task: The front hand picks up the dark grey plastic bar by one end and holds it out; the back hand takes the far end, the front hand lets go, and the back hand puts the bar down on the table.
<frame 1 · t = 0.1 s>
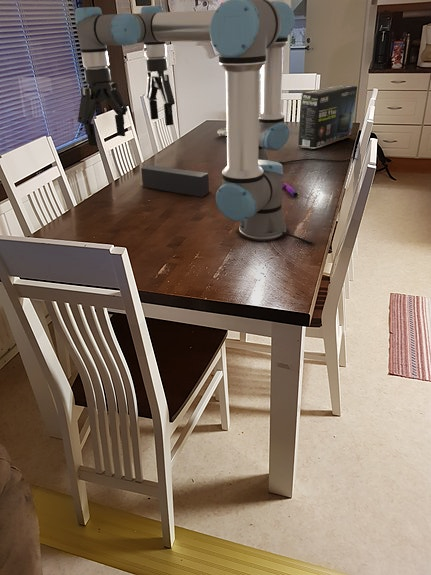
front hand: (107, 140, 148), 28 cm above the table, tool pointing down, fingers open, 13 cm apart
back hand: (161, 122, 170), 28 cm above the table, tool pointing down, fingers open, 13 cm apart
fossil: (232, 135, 267), on the table
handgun: (280, 189, 185), on the table
bar: (175, 189, 189), on the table
router box: (325, 143, 245), on the table
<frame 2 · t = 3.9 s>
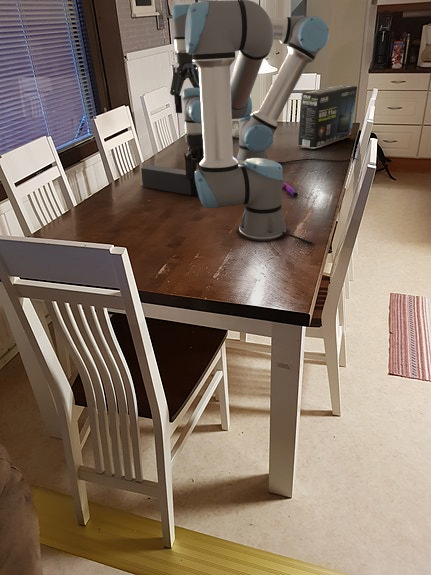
front hand: (198, 192, 183), 0 cm above the table, tool pointing down, fingers closed on bar, 5 cm apart
back hand: (188, 110, 187), 28 cm above the table, tool pointing down, fingers open, 13 cm apart
bar: (175, 189, 189), on the table, touching front hand
everything else where it was.
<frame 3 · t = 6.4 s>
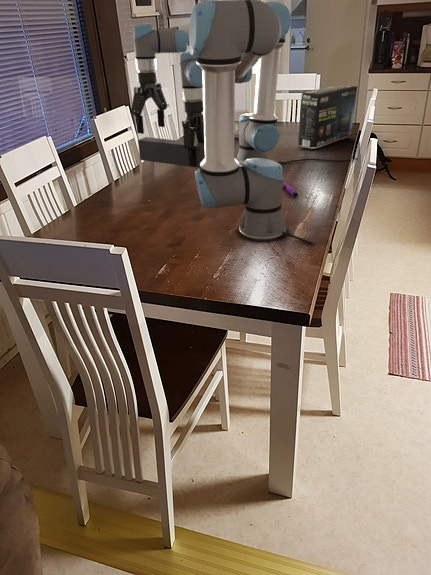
front hand: (197, 164, 177), 12 cm above the table, tool pointing down, fingers closed on bar, 5 cm apart
back hand: (151, 129, 183), 23 cm above the table, tool pointing down, fingers open, 13 cm apart
bar: (173, 162, 183), point 11 cm above the table, touching front hand
everything else where it was.
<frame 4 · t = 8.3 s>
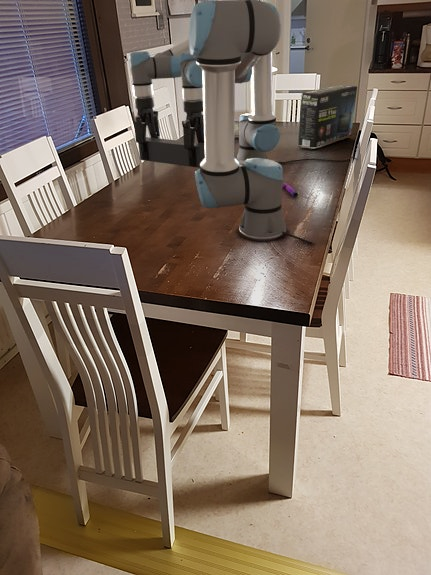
front hand: (197, 163, 177), 12 cm above the table, tool pointing down, fingers closed on bar, 5 cm apart
back hand: (150, 157, 188), 12 cm above the table, tool pointing down, fingers closed on bar, 5 cm apart
bar: (173, 162, 183), point 11 cm above the table, touching front hand, back hand
everything else where it was.
when the front hand's fingers open (12 cm above the table, at t = 9.1 s): bar stays where it is, held by the back hand.
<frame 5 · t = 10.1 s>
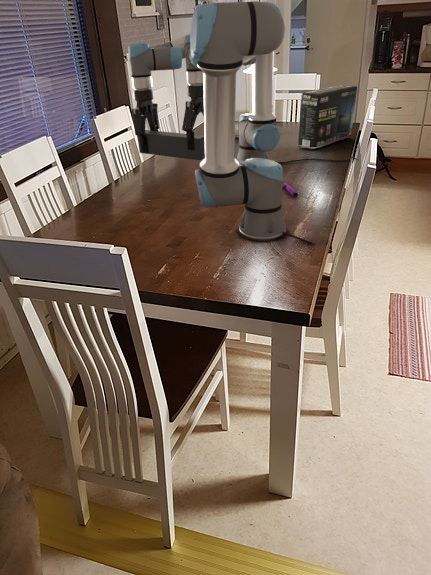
front hand: (201, 145, 172), 19 cm above the table, tool pointing down, fingers open, 13 cm apart
back hand: (149, 150, 186), 15 cm above the table, tool pointing down, fingers closed on bar, 5 cm apart
bar: (172, 154, 181), point 14 cm above the table, touching back hand
everything else where it was.
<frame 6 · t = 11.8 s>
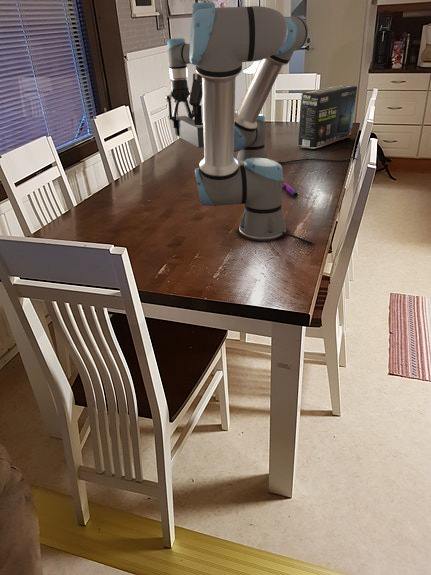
front hand: (208, 121, 166), 28 cm above the table, tool pointing down, fingers open, 13 cm apart
back hand: (183, 134, 210), 15 cm above the table, tool pointing down, fingers closed on bar, 5 cm apart
bar: (192, 140, 201), point 14 cm above the table, touching back hand
everything else where it was.
when the back hand's fingers open (2 cm above the table, at t = 15.3 s): bar drops 2 cm, on the table.
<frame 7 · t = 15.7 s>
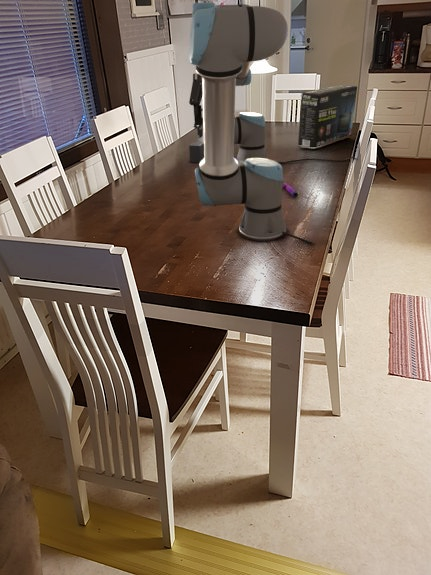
front hand: (208, 121, 166), 28 cm above the table, tool pointing down, fingers open, 13 cm apart
back hand: (211, 142, 241), 3 cm above the table, tool pointing down, fingers open, 11 cm apart
bar: (204, 154, 234), on the table
everything else where it was.
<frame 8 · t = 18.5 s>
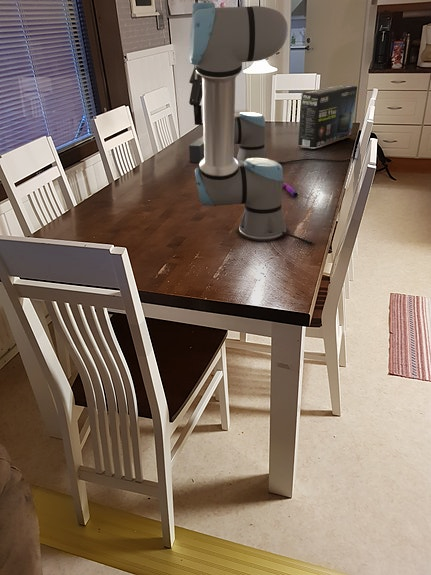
front hand: (208, 121, 166), 28 cm above the table, tool pointing down, fingers open, 13 cm apart
back hand: (209, 98, 230), 25 cm above the table, tool pointing down, fingers open, 13 cm apart
nothing on the table moved.
at the end: bar inside the target area (11.1 cm from its centre), on the table; the front hand is holding nothing; the back hand is holding nothing; bar at rest at the end (0.0 cm/s) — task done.
